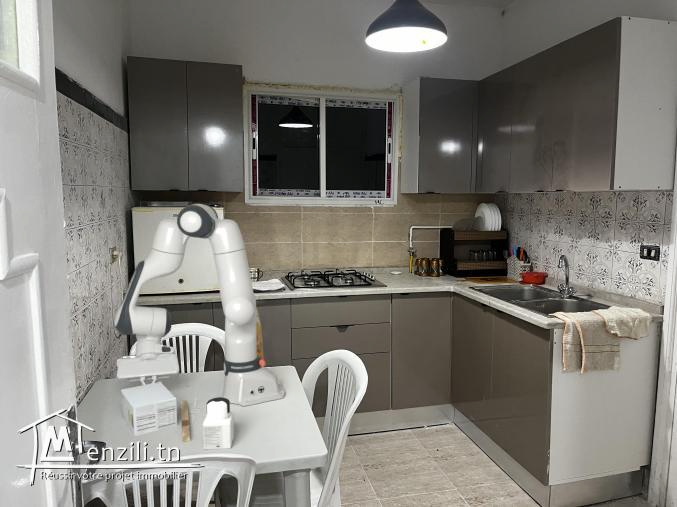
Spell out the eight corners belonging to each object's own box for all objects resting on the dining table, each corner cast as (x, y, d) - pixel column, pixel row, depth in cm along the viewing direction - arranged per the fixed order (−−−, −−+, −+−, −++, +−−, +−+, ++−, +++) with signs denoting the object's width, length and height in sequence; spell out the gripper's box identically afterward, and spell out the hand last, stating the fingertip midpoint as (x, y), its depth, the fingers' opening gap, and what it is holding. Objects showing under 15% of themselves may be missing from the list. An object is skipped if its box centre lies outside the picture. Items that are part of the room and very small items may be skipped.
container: (207, 437, 149) (206, 395, 148) (234, 436, 150) (233, 394, 148) (203, 450, 141) (201, 405, 140) (230, 449, 142) (229, 405, 141)
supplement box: (121, 417, 163) (120, 389, 162) (162, 407, 171) (161, 381, 170) (133, 437, 149) (132, 406, 148) (178, 425, 157) (177, 397, 156)
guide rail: (187, 406, 171) (187, 400, 171) (190, 440, 147) (189, 433, 147) (180, 407, 171) (180, 401, 170) (182, 441, 146) (182, 435, 146)
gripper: (116, 352, 172) (114, 390, 163) (178, 347, 178) (179, 383, 170) (117, 360, 176) (116, 398, 168) (178, 355, 183) (179, 391, 175)
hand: (148, 390), depth 169 cm, fingers closed
